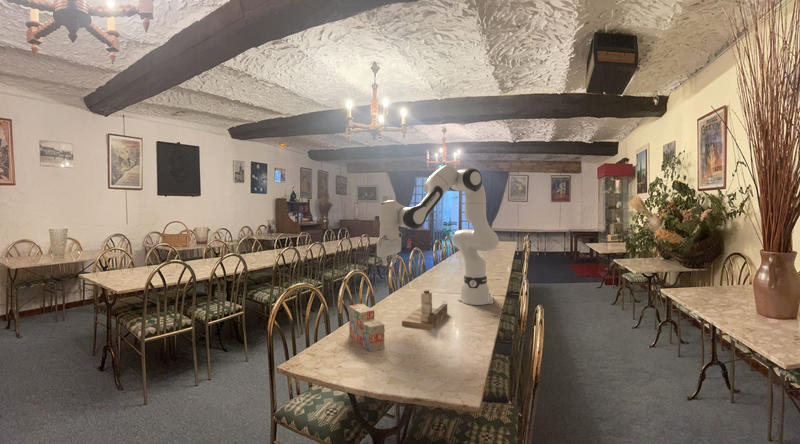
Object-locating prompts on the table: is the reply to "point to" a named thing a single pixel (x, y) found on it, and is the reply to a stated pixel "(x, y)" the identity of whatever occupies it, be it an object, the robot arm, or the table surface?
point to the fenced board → (417, 322)
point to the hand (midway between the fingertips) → (389, 264)
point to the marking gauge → (426, 305)
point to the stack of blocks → (366, 327)
